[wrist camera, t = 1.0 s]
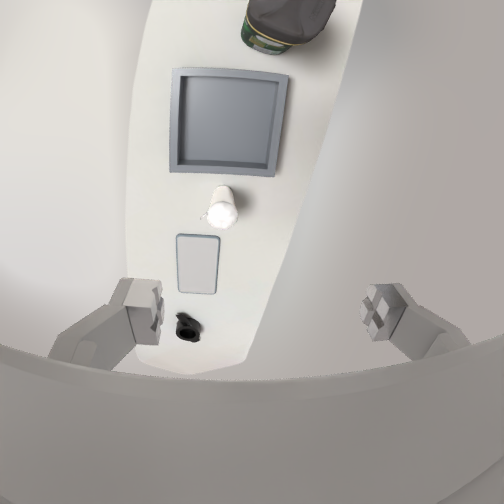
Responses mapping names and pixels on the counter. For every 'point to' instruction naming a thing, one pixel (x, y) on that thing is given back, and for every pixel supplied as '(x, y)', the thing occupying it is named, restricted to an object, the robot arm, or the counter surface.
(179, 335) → the black wing nut
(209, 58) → the counter surface
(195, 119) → the tray
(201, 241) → the smartphone
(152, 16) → the counter surface
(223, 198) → the milkshake
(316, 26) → the coffee jar
